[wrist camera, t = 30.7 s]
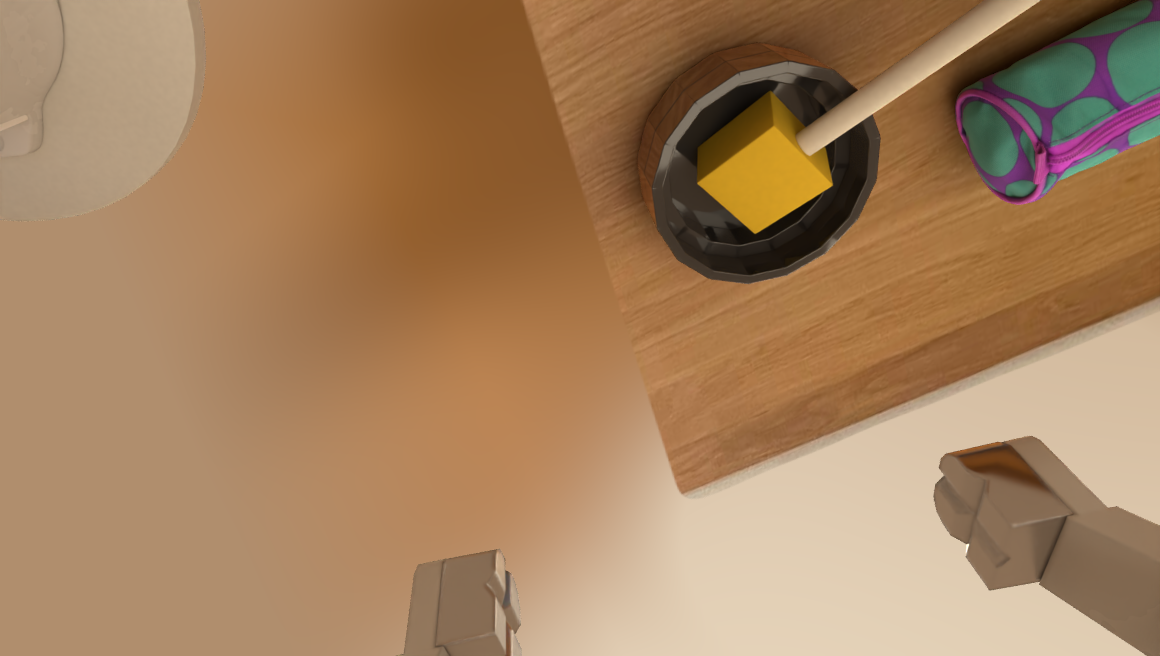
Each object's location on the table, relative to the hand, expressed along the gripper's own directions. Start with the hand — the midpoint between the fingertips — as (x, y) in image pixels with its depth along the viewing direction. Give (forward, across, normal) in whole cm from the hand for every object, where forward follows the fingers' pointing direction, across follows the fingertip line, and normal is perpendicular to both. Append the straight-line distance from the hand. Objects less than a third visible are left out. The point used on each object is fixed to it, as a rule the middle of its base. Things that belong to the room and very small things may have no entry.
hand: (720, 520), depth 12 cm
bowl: (+35, +11, -8) cm, 38 cm away
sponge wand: (+27, +16, -4) cm, 32 cm away
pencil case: (+35, +36, -7) cm, 51 cm away
